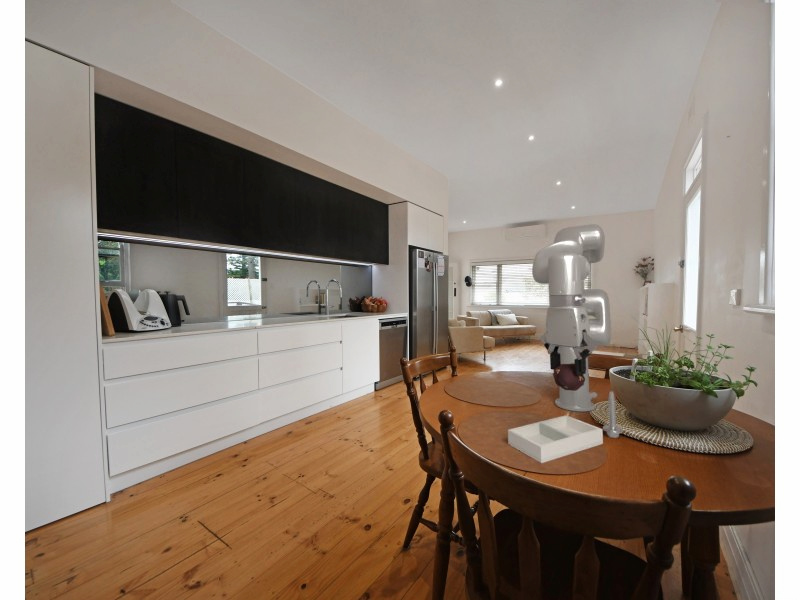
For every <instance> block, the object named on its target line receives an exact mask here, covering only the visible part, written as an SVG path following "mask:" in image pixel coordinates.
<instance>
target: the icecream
mask: <svg viewBox="0 0 800 600" xmlns="http://www.w3.org/2000/svg"><path fill="white" fill-rule="evenodd" d="M552 376H553V379H554V383H555V384H556V385H557V387H559V386H560V387H561V388H563V389H564V390H571V391H576V390H578V389H579V388H580V387H581V386H583V385H584V382H585V377H584V375H575V366H574V363H571V364H561V365H560V366H558V367H557V368H555V369H554V370H553V373H552Z"/></svg>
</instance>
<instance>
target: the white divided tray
mask: <svg viewBox="0 0 800 600" xmlns="http://www.w3.org/2000/svg"><path fill="white" fill-rule="evenodd" d="M603 431H604V430H603V428H600V427H597V426H595V425H592V424H590V423H588V422H584V421H582V420H579V419H577V418H574V417H571V416H569V415H562V416H558V417H553V418H548V419H546V420H541V421H538V422H537V421H536V422H534V423H529V424H526V425H525V424H524V425H522V426H518V427H514V428H510V429H507V440H508V441H507V442H508V443H507V444H508V445H509V444H510V445H509V446H510V447H513V448H515V449H516V450H518V451H519V450H520V451H519V452H522V453H523V454H524V455H526V456H528V457H530V458H532V459H533V460H535V461H537V462H538V463H540V464H544V463H547V462H551V461H553V460H557V459H559V458H562V457H566V456H569V455H572V454H575V453H577V452H581V451H584V450H588V449H590V448H594V447H597V446H600V445H603V444H604V441H603V440H604V438H603V437H604V436H603Z"/></svg>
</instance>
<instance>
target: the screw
mask: <svg viewBox="0 0 800 600" xmlns="http://www.w3.org/2000/svg"><path fill="white" fill-rule="evenodd" d="M607 402H608V403H607V404H608V405H607V406H608V407H607V410H608V424H605V425H603V426H602V431H605V432H606V436H608V437H609V438H613V439H617V438H619V437H620V434H622V433H624V430H623V428H622V427H620V426H618V425H617V415H616V414H617V409H616V408H617V406H616V400H615V393H614V391H613V390H611V391H609V394H608V401H607Z"/></svg>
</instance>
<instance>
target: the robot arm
mask: <svg viewBox="0 0 800 600" xmlns="http://www.w3.org/2000/svg"><path fill="white" fill-rule="evenodd" d="M605 236H606V235H605V233H604V230H603V228H602V227H601V226H600V225H599V224H594V223H593V224H592V223H591V224H584V225H577V226H575V225H574V226H568V227H564V228H561V229H560V230H558V232H557V233H556V234H555V236H554V240H553V243H551V244H549V245H548V246H546V247H543V248H541V249H540V250H539V251H537V252H536V254H535V257H534V260H533V262H532V270H531V274H532V278H533V280H534V281H535V282H536V283H537V284H543V285H546V284H547V285H548V305H549V307H547V311H546V318H545V332H544V333H543V334H542V336H541V337H540V339H539V340H540V342H541V343H542V344H543V347H544V348H545V350H546V351H547V354H548V355H549V363H550V365H549V366H550V370H552V371H554V369H555V368H557V367H558V366H560V365H561V364H571V363H574V366H575V375H584V377H585V382H584V385H583V386H581V387H580V388H579V389H578V390H576V391H571V390H564V389H563V388H561V387H560V386H558V387H559V391H558V392H559V398H556V399H555V401H554V404H555V405H556V407H558V408H560V409H563V410H567V411H571V412H590V411H594V409H595V408H596V407H595V404H594V403H593V402H592V400H593V399H595V398H597V397H598V393H596V392H594V391H593V392H590V379H589V376H590V375H589V359H588V358H589V356H590V355H592V353H593V352H594V351H595V350H596V349H597V348H598V347H605V346H606V347H607V346H608V345H610V343H611V341H612V325H611V307H610V299H609V296H608V293H607V292H606V290H603V289H600V288H589V289H585V280H586V279H587V277H588V276H589V275H590V272H591V265H590V264H596V263H599V262H601V261H602V260H603V257H604V254H605V244H606V243H605V242H606V240H605V239H606V238H605ZM589 316H590V317H594V318H589Z"/></svg>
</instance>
